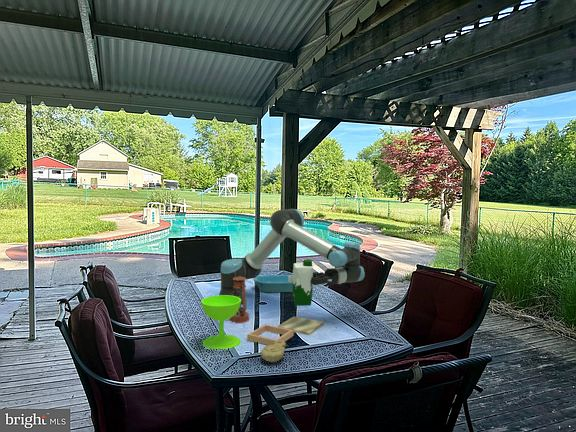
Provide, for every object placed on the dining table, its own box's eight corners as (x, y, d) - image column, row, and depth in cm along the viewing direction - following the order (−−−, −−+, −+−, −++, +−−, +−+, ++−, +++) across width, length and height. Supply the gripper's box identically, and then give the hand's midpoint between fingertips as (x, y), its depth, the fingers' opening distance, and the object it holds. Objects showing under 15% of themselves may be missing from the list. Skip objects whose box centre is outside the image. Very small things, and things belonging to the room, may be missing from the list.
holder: (247, 340, 165) (247, 334, 164) (265, 329, 177) (265, 324, 177) (276, 347, 158) (276, 341, 158) (293, 335, 170) (293, 330, 170)
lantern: (252, 317, 193) (253, 257, 191) (243, 324, 183) (243, 261, 181) (234, 315, 196) (234, 256, 194) (225, 322, 187) (225, 259, 185)
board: (277, 328, 179) (277, 326, 178) (293, 318, 193) (293, 316, 193) (309, 335, 171) (309, 332, 171) (324, 324, 185) (324, 321, 185)
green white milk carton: (313, 306, 177) (314, 263, 174) (293, 306, 176) (294, 263, 173) (310, 299, 185) (311, 258, 182) (291, 299, 185) (292, 258, 182)
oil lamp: (284, 349, 156) (284, 336, 156) (291, 365, 142) (291, 351, 142) (257, 350, 154) (257, 338, 154) (262, 367, 140) (262, 353, 140)
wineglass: (206, 354, 150) (205, 308, 149) (198, 339, 165) (197, 297, 164) (246, 347, 157) (246, 303, 156) (235, 334, 171) (235, 293, 170)
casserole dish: (306, 284, 264) (307, 273, 263) (314, 293, 242) (314, 281, 241) (251, 285, 258) (251, 275, 258) (254, 294, 236) (254, 283, 236)
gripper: (347, 288, 180) (302, 294, 169) (323, 279, 197) (282, 283, 187) (347, 272, 179) (303, 276, 169) (324, 264, 197) (282, 268, 187)
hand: (292, 280), depth 178 cm, fingers closed on green white milk carton, 7 cm apart
